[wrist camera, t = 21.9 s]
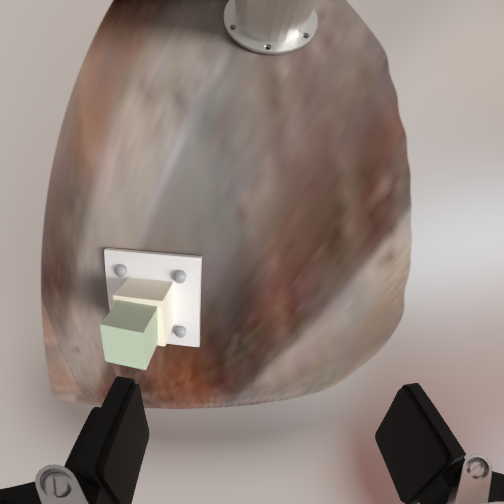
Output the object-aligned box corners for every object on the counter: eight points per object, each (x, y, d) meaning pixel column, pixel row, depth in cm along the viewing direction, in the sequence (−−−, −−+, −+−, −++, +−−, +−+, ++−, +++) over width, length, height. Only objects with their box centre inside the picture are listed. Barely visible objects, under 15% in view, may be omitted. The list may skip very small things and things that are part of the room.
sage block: (119, 300, 33) (100, 324, 27) (157, 306, 33) (143, 332, 27) (122, 334, 34) (105, 360, 28) (158, 340, 34) (146, 369, 29)
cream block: (129, 277, 38) (112, 295, 32) (173, 281, 38) (162, 301, 33) (132, 318, 40) (118, 339, 34) (174, 323, 40) (165, 346, 35)
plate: (107, 247, 38) (101, 251, 36) (202, 255, 39) (200, 260, 37) (115, 331, 42) (111, 337, 40) (199, 343, 43) (198, 350, 41)
